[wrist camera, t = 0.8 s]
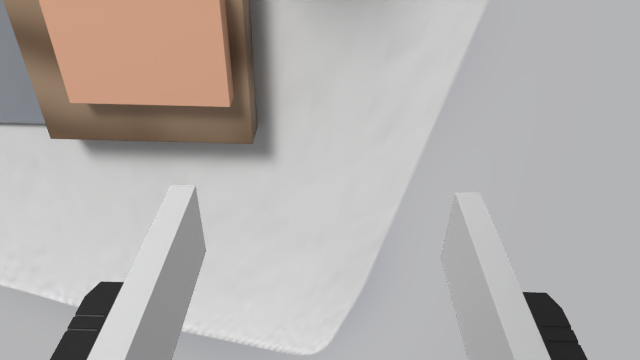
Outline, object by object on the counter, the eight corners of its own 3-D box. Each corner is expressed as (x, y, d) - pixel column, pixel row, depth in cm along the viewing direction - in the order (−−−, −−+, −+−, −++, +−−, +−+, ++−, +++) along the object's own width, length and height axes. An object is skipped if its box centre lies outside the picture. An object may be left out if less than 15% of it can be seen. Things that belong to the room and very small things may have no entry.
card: (47, -22, 27) (34, -16, 26) (223, -18, 27) (218, -11, 26) (80, 92, 31) (70, 102, 30) (233, 96, 31) (229, 106, 30)
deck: (-3, -98, 27) (-30, -93, 25) (243, -93, 27) (235, -88, 25) (67, 121, 35) (50, 138, 33) (257, 126, 35) (252, 143, 33)
